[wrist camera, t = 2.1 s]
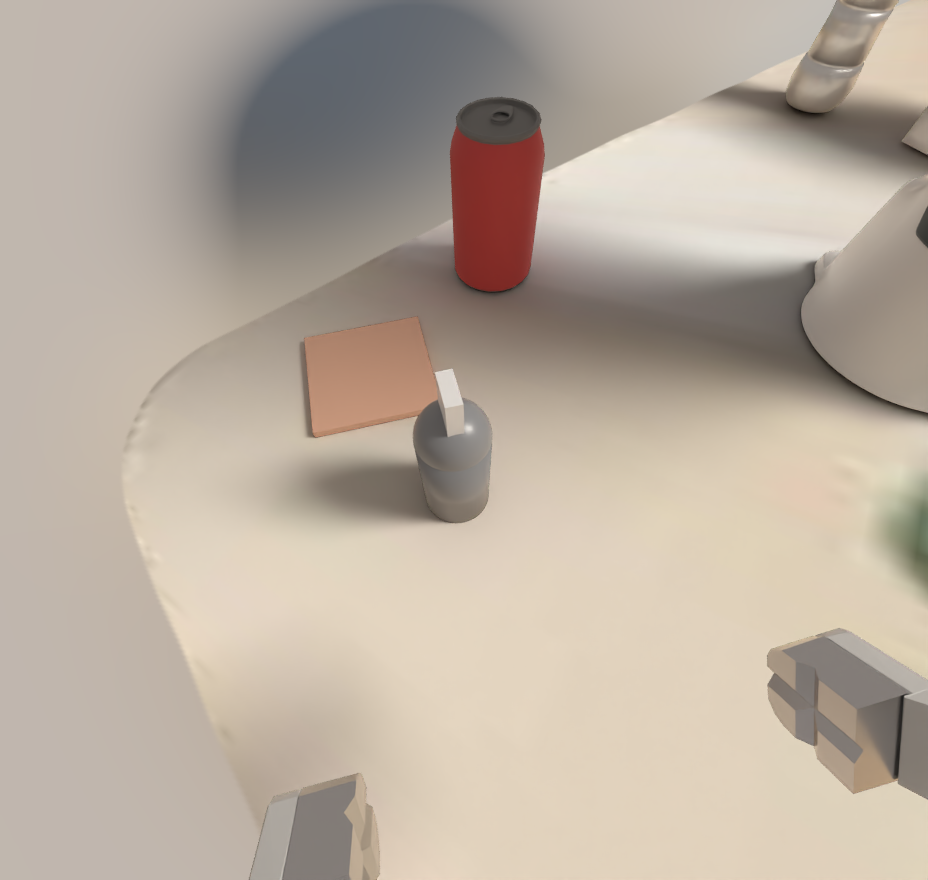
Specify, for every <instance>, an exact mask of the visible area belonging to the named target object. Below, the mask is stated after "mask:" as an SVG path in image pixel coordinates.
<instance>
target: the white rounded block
mask: <svg viewBox="0 0 928 880" xmlns="http://www.w3.org/2000/svg"><path fill="white" fill-rule="evenodd" d="M901 142H903V143H905V144H907V145H909V146H911V147H913V148H915V149H917V150H919V151H921V152H923V153H925V154H926V155H928V106H927V108H926V109H925V110H924V112H923V113H922V114H921V116H920V117H919V118H918V119H917V121H916V122H915V123H914V125H913V126H912V127H911V129H910V130H909V131H908V133H907V134H906V135H905V137H904V138H903V139H902V141H901Z"/></svg>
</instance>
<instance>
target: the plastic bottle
mask: <svg viewBox="0 0 928 880" xmlns="http://www.w3.org/2000/svg"><path fill="white" fill-rule="evenodd" d="M898 2H899V0H837V1H836V3H835V5H834V7H833V9H832V11H831V13H830V15H829V17H828V18H827V20H826V22H825V24H824V25H823V27H822V29H821V31H820V32H819V34H818V36H817V37H816V39H815V41H814V42H813V44H812V46H811V48H810V49H809V52H807V53H806V55H805V56H804V57H803V59H802V60H801V62H800V63H799V65H798V67H797V68H796V70H795V71H794V73H793V75H792V76H791V79H790V82H789V84H788V87H787V90H786V100H787V102H788V104H789V105H791V106H792V107H794V108H796V109H798V110H801V111H805V112H811V113H823V112H828V111H830V110H832V109H834V108H835V107H836V106H838V105H839V104H840V103H842V101H843V100H844V99H845V98H846V96H847V95H848V94H849V93H850V91H851V90H852V89H853V87H854V85H855V82H856V80H857V78H858V76H859V74H860V72H861V70H862V67H863V65H864V61H865V60H866V58H867V56H868V54H869V52H870V50H871V48H872V46H873V44H874V43H875V41H876V39H877V37H878V35H879V33H880V31H881V29H882V27H883V26H884V24H885V22H886V20H887V19H888V17H889V16H890V14H891V13H892V11H893V8H894V7H895V5H896V4H897V3H898Z"/></svg>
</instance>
